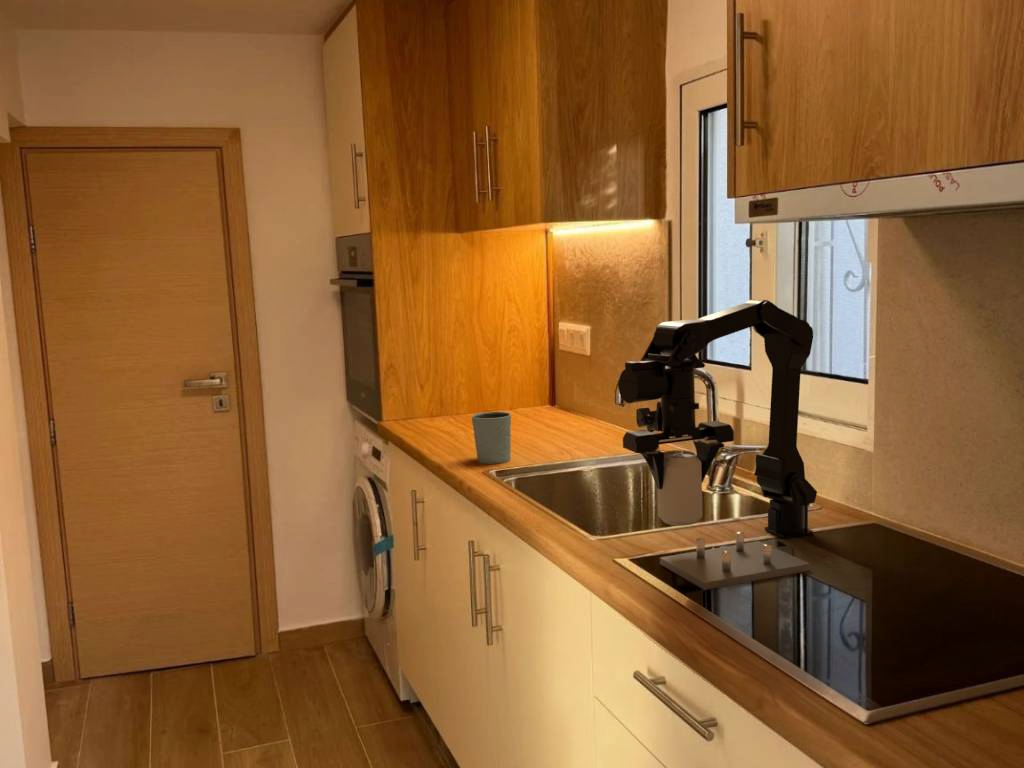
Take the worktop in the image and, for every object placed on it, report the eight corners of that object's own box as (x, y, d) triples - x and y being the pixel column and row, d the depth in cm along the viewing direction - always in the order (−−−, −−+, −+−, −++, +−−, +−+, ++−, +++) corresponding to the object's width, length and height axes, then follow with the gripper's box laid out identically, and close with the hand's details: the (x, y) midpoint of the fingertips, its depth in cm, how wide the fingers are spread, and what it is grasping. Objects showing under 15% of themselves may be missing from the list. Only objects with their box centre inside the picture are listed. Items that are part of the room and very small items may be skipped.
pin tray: (759, 547, 173) (759, 523, 173) (809, 570, 160) (809, 544, 160) (660, 564, 166) (659, 539, 166) (704, 590, 153) (704, 563, 153)
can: (657, 526, 166) (655, 457, 164) (659, 514, 173) (657, 448, 172) (702, 527, 164) (701, 457, 163) (702, 514, 172) (701, 448, 170)
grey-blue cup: (516, 462, 249) (514, 416, 247) (477, 466, 247) (475, 419, 245) (508, 454, 258) (506, 410, 257) (470, 458, 256) (468, 413, 255)
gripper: (701, 385, 176) (702, 469, 179) (607, 395, 170) (610, 482, 172) (735, 393, 166) (736, 482, 168) (636, 404, 160) (639, 497, 162)
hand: (679, 485), depth 168 cm, fingers closed on can, 7 cm apart
